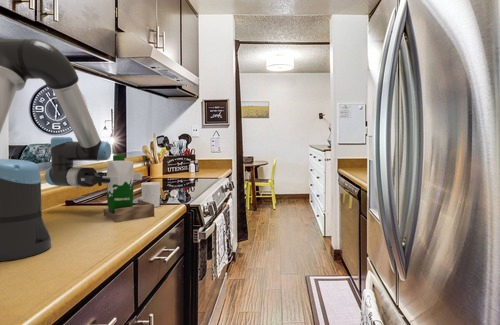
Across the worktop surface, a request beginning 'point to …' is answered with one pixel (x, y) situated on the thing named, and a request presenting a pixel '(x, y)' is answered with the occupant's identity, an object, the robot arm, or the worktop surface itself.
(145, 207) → the wooden tray
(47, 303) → the worktop surface
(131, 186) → the white two-tone container
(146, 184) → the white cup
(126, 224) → the worktop surface
